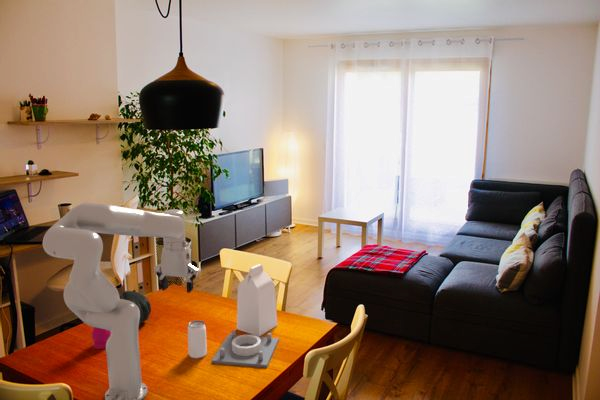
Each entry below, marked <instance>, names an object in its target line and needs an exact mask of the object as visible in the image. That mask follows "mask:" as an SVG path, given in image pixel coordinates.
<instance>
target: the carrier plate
mask: <svg viewBox="0 0 600 400" xmlns="http://www.w3.org/2000/svg"><path fill="white" fill-rule="evenodd" d="M266 333H267V334H266V335H267V336H256V335H253V334H248V333H247V334H242V335H241V334H237V332H236V330H235V329H234V330H231V333H228V335H227V336H226V338H225V339H224V340H223V342H222V344H221V346H220V347H219V349H218V350H217V352H216V353H215V354H214V356H213V358H212V359H211V364H220V365H230V366H231V365H233V366H244V367H254V368H255V367H256V368H268V366H269V364H270V361H271V359H272V357H273V355H274V352H275V350H276V348H277V345H278V343H279V341H280V339H279V337H272V333H271V332H266Z"/></svg>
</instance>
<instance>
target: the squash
mask: <svg viewBox="0 0 600 400" xmlns="http://www.w3.org/2000/svg"><path fill="white" fill-rule="evenodd" d="M119 297H120V299H124V300H128V301H131V302H133V303H135V304H136V305H137V306H138V308H139V310H140V320H139V326H141V325H142V323H144V322H146V321H147V320H148V319H149V317H150V315H151V311H152V305H151V302H150V300H149V299H148V298H147V297H146V296H145V295H144V294H143V293H141V292H138V291H132V290H124V291H122V293H121V294H120V295H119Z"/></svg>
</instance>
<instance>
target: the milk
mask: <svg viewBox="0 0 600 400" xmlns="http://www.w3.org/2000/svg"><path fill="white" fill-rule="evenodd" d="M236 309H237V310H236V312H237V313H236V314H237V315H236V330H237V331H242V332H244V333H247V334H249V335H255V336H257V337H262V336H263V335H264V334H266V333H268V332H269V331H271V330H272V329H274V328H275V327H277V326H278V316H277V315H278V313H277V301H276V289H275V281H274V280H273V279H272V278H271V277H270V276H269V275H268V274H267V272H266V271H265V270H264V267H263V265H262V264H261V263H259V264H256V265H253V266H252V267H250V268H249V271H248V274H247V275H246V277H245V278H243V280H241V281H240V282H239V283H238V285H237V308H236Z"/></svg>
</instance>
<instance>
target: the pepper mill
mask: <svg viewBox="0 0 600 400" xmlns="http://www.w3.org/2000/svg"><path fill="white" fill-rule="evenodd" d="M110 335H111V331H109V330H106V329H101V328H96V327H93V329H92V332H91V338H92V340H93V341H94V342H93V347H94V349H96V350H102V349H105V350H106V343H107V340H108V338H109V337H110Z"/></svg>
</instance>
